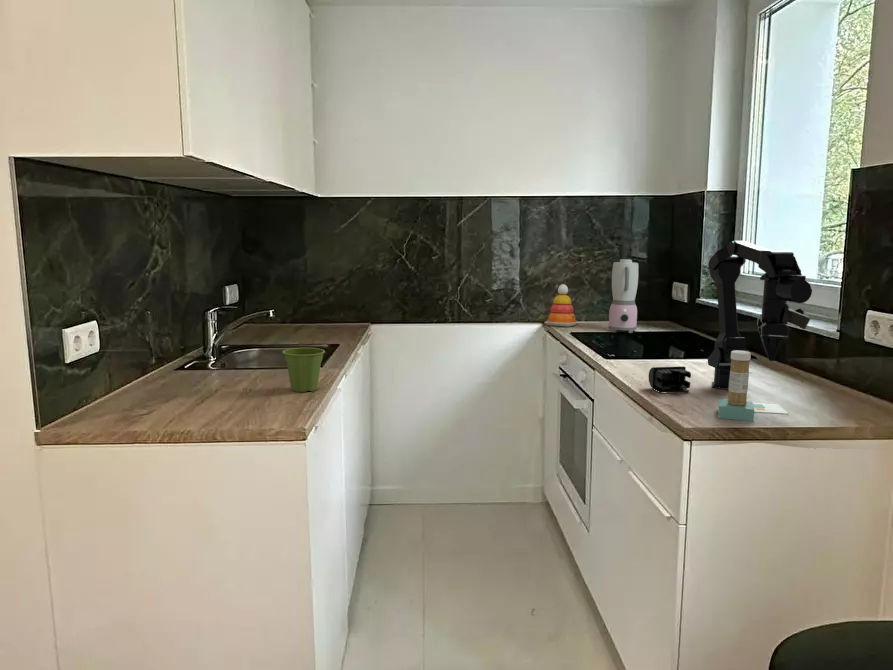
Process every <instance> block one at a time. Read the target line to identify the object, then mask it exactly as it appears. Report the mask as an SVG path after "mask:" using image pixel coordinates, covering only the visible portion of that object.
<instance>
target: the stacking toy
mask: <svg viewBox="0 0 893 670" xmlns="http://www.w3.org/2000/svg"><path fill="white" fill-rule="evenodd" d="M557 292H558V295H556V296H555V297H554V299H553V302H552V303H553V304H552V305H551V308H550V312H549V314H548V316H547V317H548V318H547V320H546V323H547V324H548V325H550V326H551V327H555V326H556V327H567V328H569V327H573V326H575V325H577V324H578V321H577V319H576V315H575V314H574V311H575V310H574V306H573V305H572V299H571V297H570V296H568V295H567V294H568V293H569V288H568V286H567V285H566V284H564V283H562V284H560V285H559V286H558V289H557Z"/></svg>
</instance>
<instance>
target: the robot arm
mask: <svg viewBox="0 0 893 670" xmlns="http://www.w3.org/2000/svg"><path fill="white" fill-rule="evenodd" d="M747 260H748V261H750V262H753V263H755V264H757V266H758V268H759V269H760V270H761V271H763V272H764V274H763V275H761V276H760V278H759V280H760V281H763V293H762V301H761V315H760V316H758V317H757V321H756V324H757V325H756V327H757V326H758V327H757V329H758V333H759V337H760V339H761V343H762V345H763V346H762V347H763V348H764V351H765V354H766V356H767V358H768V361H770V362H774V361H775V358H776V355H777V352H778V349H779V347H780V344H781V342H783V341H785V339H787V338H789V336H790V327H789V325H788V324H789V323H790V324H791V325H792V324H793V325H795V326H797V327H799V328H800V329H803V330H806V328H807V327H808V325H809V322H810V320H811V317H810V316H809V315H806V314H805V312H804V309H801V308H799V307H796V308H795V309H794V310H793V309H790V305H789V304H788V302H789V303H796V304H804V303H806V302H807V301H808V300H810V298H811V296H812V294H813V288H812V286H811V284H810V283H809V282H808V281H807V280H806V277H807V276H806V275H802V270H801V268H800V266H799V264H798V261H797V258H796V257H795V254H794V252H793V251H791V250H781V249H780V250H779V249H778V250H777V249H768V248H765V247H762V246H759V245H757V244H754V243H751V242H749V241H747V240H732V241H729V243H727V245H726V246H724V247H722V248H720V249H718V250H717V251H716V252H714V254H713V255H712V256H711V257H710V258H709V260H708V264H707V265H708V268H709V274H710V279H712V281H713V283H715V285H716V290H717V291H716V292H717V293H716V294H717V308H718V326H719V334H718V336H717V338H716V340H715V342H714V347H713V348H714V349H713V351H712V352H711V354H710V355H708V357H707V364H708V366H710V367H712V368H714V372H713V373H714V374H713V376H714V377H713V381H712V382H711V388H712V389H723V390H729V378H730V369H731V352H732V351H735V350H740V351H748V348H747V340H746V337H742V335H741V334H740V333H739V330H738V311H737V297H736V282H737V280H738V278H739V277H740V274H741V268H742V267H743V266H744V265H745V264H746V262H747Z"/></svg>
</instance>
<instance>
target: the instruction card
mask: <svg viewBox="0 0 893 670" xmlns="http://www.w3.org/2000/svg"><path fill="white" fill-rule="evenodd" d="M753 406H754V413H759V414H762V413H763V414H778V415H788V414H789V413H788V412H787V411H786V410H785V409H784V408H783V407H782V406H781V405H780V404H776V403H761V402H759V403H758V402H756V403H755V402H753Z"/></svg>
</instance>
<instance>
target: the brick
mask: <svg viewBox="0 0 893 670" xmlns="http://www.w3.org/2000/svg"><path fill="white" fill-rule="evenodd" d="M746 402H747V404H746V405H744V406H737V405H732V404H729V403H728V398H727V399H725V398H718V405H717V406H718V407H717V413H718V414H717V415H718V417H717V418H718V419H723V420H724V419H725V420H735V421H742V422H744V421H745V422H754V420H755V412H754V406H753V403H754V402H753V401H747V400H746Z"/></svg>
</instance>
